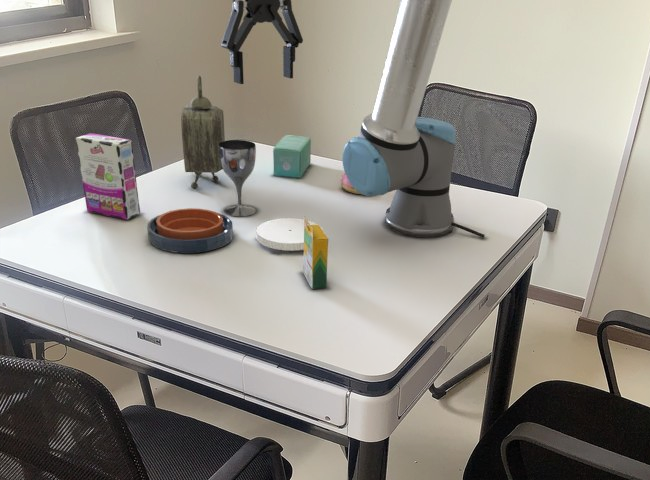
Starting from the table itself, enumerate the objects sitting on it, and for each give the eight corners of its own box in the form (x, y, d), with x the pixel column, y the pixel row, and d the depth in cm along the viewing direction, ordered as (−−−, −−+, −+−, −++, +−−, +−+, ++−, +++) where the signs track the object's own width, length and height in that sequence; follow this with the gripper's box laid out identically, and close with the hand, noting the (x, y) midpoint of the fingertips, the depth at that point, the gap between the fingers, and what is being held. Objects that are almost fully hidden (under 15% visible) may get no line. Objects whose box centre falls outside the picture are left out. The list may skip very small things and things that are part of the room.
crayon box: (327, 288, 135) (329, 229, 128) (311, 289, 134) (312, 230, 128) (317, 272, 140) (319, 214, 134) (302, 273, 140) (303, 215, 133)
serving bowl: (248, 242, 151) (248, 228, 149) (173, 261, 142) (172, 247, 140) (206, 217, 162) (205, 204, 160) (134, 233, 152) (132, 219, 151)
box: (272, 176, 189) (272, 147, 185) (284, 161, 200) (284, 134, 196) (300, 179, 188) (300, 150, 184) (310, 164, 199) (311, 136, 195)
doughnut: (331, 189, 182) (332, 173, 180) (356, 179, 190) (357, 163, 187) (367, 199, 177) (368, 182, 175) (392, 188, 185) (393, 172, 182)
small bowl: (236, 241, 151) (235, 223, 149) (177, 255, 144) (176, 236, 142) (203, 221, 160) (202, 204, 158) (147, 234, 152) (144, 216, 150)
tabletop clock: (191, 172, 188) (183, 69, 174) (226, 173, 189) (221, 71, 175) (186, 191, 176) (177, 82, 162) (224, 191, 177) (218, 83, 163)
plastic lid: (244, 247, 149) (244, 236, 147) (274, 225, 160) (274, 214, 158) (307, 260, 145) (307, 248, 144) (333, 236, 156) (333, 225, 155)
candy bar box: (141, 213, 162) (133, 139, 153) (127, 220, 158) (117, 144, 149) (100, 205, 165) (89, 131, 156) (86, 211, 161) (73, 136, 152)
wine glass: (251, 218, 162) (248, 151, 154) (217, 214, 164) (213, 147, 156) (262, 207, 169) (260, 141, 161) (229, 203, 170) (226, 138, 162)
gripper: (298, -29, 162) (297, 72, 174) (200, -28, 148) (207, 82, 160) (319, -26, 158) (317, 78, 169) (220, -25, 143) (226, 88, 155)
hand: (264, 80), depth 164 cm, fingers open, 13 cm apart
